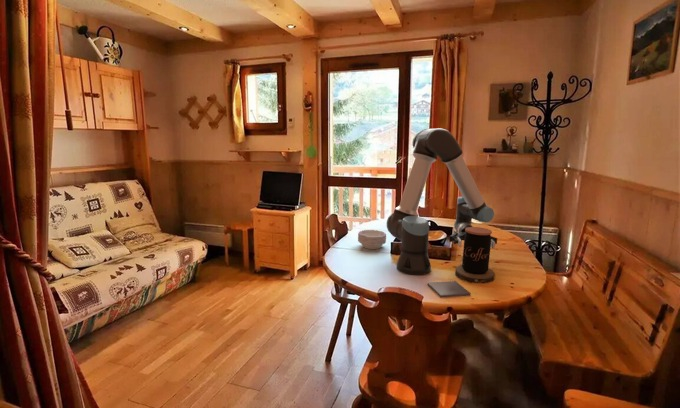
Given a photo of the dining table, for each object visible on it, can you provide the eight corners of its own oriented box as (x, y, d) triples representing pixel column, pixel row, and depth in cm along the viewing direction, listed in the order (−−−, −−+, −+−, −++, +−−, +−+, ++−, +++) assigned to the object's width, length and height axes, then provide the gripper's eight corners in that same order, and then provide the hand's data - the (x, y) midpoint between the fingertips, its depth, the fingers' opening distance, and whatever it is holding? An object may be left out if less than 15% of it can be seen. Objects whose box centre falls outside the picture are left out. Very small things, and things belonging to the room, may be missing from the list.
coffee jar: (459, 271, 152) (463, 230, 149) (463, 264, 162) (467, 225, 159) (486, 276, 148) (490, 234, 144) (489, 269, 157) (493, 229, 154)
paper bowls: (391, 249, 192) (391, 235, 190) (365, 252, 186) (365, 237, 185) (377, 241, 206) (378, 228, 204) (353, 244, 200) (353, 230, 199)
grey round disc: (452, 269, 164) (452, 263, 164) (489, 271, 162) (489, 265, 161) (457, 283, 149) (458, 276, 148) (498, 285, 146) (499, 278, 146)
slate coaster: (440, 297, 134) (440, 295, 133) (427, 285, 145) (427, 282, 145) (470, 295, 136) (470, 293, 135) (455, 283, 147) (455, 280, 147)
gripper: (493, 240, 171) (507, 254, 151) (439, 238, 175) (446, 251, 154) (494, 225, 170) (509, 237, 149) (440, 223, 174) (447, 235, 153)
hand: (477, 244), depth 152 cm, fingers open, 13 cm apart
